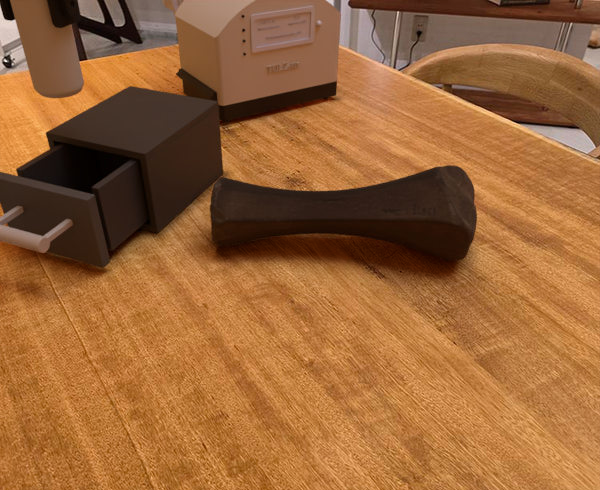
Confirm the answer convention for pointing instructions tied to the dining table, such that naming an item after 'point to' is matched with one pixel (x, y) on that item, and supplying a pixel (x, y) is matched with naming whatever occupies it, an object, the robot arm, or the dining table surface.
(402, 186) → the dark brown bone
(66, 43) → the beverage can
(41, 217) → the dark grey drawer
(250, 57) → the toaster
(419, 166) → the dining table surface
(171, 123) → the dark brown drawer cabinet
